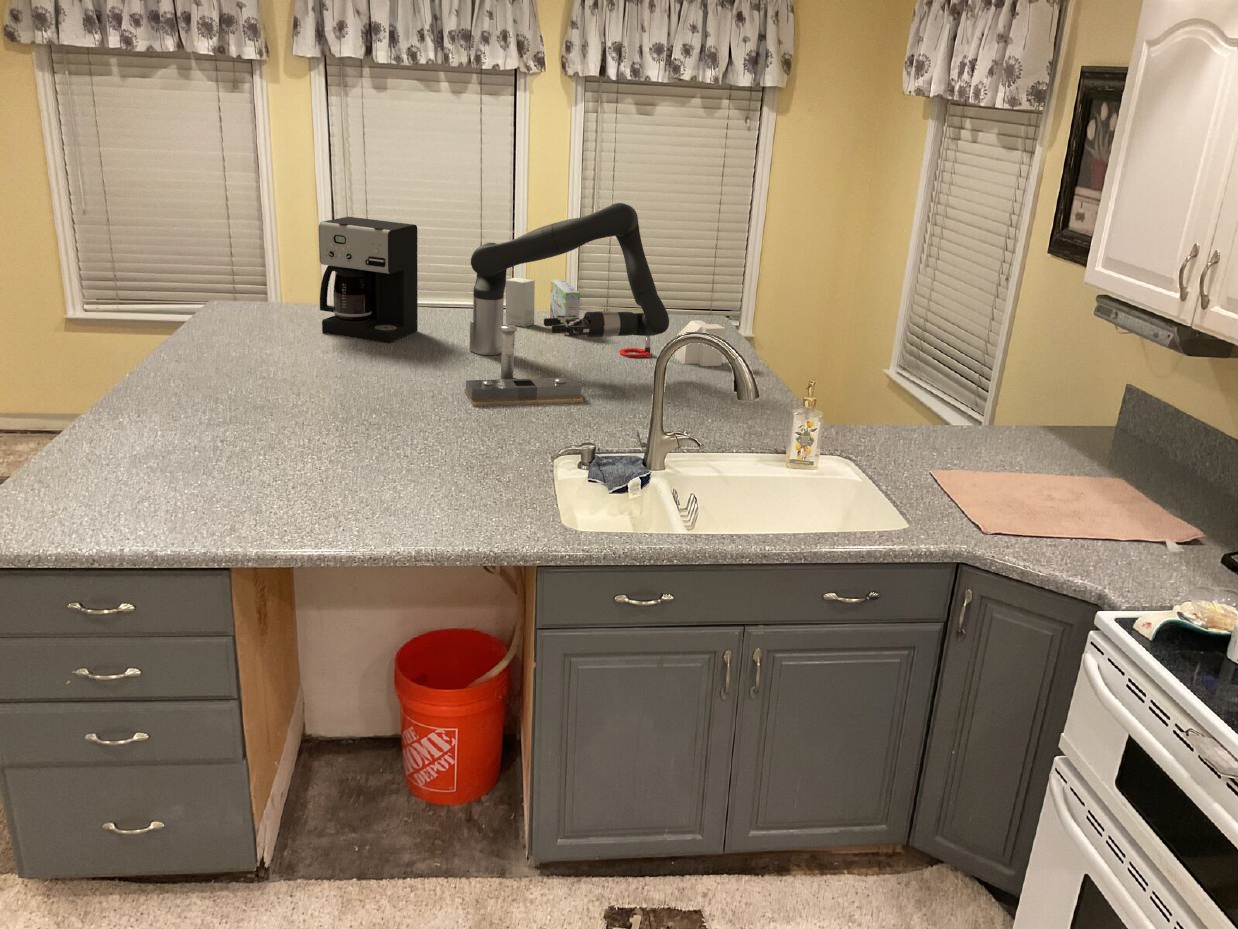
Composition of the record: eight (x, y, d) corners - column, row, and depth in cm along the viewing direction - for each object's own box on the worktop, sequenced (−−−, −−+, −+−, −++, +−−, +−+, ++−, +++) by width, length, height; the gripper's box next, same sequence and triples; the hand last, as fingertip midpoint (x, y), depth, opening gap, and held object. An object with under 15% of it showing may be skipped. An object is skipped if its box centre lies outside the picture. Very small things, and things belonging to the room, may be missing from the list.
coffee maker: (309, 331, 323) (305, 220, 310) (342, 319, 340) (339, 213, 328) (388, 343, 316) (387, 230, 303) (418, 331, 333) (418, 223, 321)
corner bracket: (721, 365, 320) (725, 328, 316) (688, 366, 316) (692, 329, 311) (706, 356, 329) (710, 320, 325) (674, 357, 325) (678, 320, 321)
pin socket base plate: (473, 406, 264) (473, 389, 263) (464, 392, 275) (464, 376, 273) (582, 402, 274) (583, 385, 272) (570, 388, 285) (571, 373, 283)
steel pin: (495, 378, 289) (497, 327, 284) (503, 374, 293) (504, 323, 288) (510, 381, 288) (512, 329, 282) (518, 377, 292) (520, 326, 286)
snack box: (548, 321, 360) (550, 278, 354) (563, 321, 361) (565, 279, 356) (563, 336, 341) (565, 291, 336) (579, 336, 343) (581, 291, 337)
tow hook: (618, 358, 321) (649, 359, 321) (619, 314, 316) (651, 316, 316) (619, 351, 330) (650, 352, 329) (620, 309, 325) (652, 310, 324)
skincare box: (534, 324, 353) (536, 280, 347) (523, 327, 348) (524, 282, 342) (515, 320, 357) (517, 276, 351) (503, 323, 352) (505, 278, 346)
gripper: (594, 306, 299) (541, 307, 294) (610, 317, 286) (555, 318, 281) (593, 331, 302) (541, 332, 296) (608, 343, 289) (554, 344, 284)
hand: (547, 325), depth 289 cm, fingers open, 8 cm apart
